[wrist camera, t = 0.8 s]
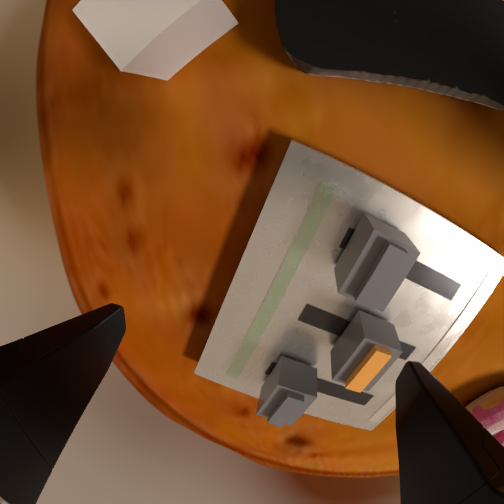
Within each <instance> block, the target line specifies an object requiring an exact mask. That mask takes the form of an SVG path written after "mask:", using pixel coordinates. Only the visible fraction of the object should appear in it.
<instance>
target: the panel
mask: <svg viewBox="0 0 504 504" xmlns="http://www.w3.org/2000/svg"><path fill="white" fill-rule="evenodd" d="M364 213H367V214H369V215H371V216H373V217H375V218H377V219H379V220H380V221H382V222H384V223H386V224H388V225H390V226H392V227H394V228H396V229H398V230H400V231H402V232H404V233H405V234H406V235H407V236H408V237H409V239H410V240H411V241H412V243H413V244H414V245H415V246H416V248H417V249H418V250H419V252H420V255H419V256H418V258H417V260H416V261H415V263H414V265H413V266H412V268H411V270H410V271H409V273H408V275H407V276H406V278H405V279H404V281H403V282H402V284H401V286H400V287H399V289H398V290H397V292H396V293H395V295H394V296H393V298H392V299H391V301H390V302H389V304H388V305H387V307H386V308H385V310H384V311H383V312H381V311H379V310H377V309H374V310H373V309H370V308H368V307H366V306H363V305H361V304H358V303H356V302H355V300H353V299H350V298H348V297H346V296H343V295H341V294H339V293H338V291H337V284H336V278H335V272H334V268H335V266H336V264H337V262H338V260H339V259H340V257H341V255H342V253H343V251H344V249H345V248H346V246H347V244H348V242H349V240H350V238H351V236H352V235H353V233H354V231H355V229H356V227H357V225H358V223H359V221H360V219H361V217H362V215H363V214H364ZM503 273H504V257H503V256H502V255H501V254H500V253H498V252H497V251H495V250H494V249H493V248H491V247H490V246H488V245H487V244H485V243H484V242H482V241H481V240H479V239H478V238H477V237H475V236H474V235H472V234H470V233H469V232H467V231H466V230H464V229H463V228H461V227H460V226H458V225H457V224H455V223H453V222H452V221H450V220H449V219H447V218H445V217H444V216H442V215H440V214H439V213H437V212H436V211H434V210H432V209H430V208H429V207H427V206H425V205H424V204H422V203H420V202H419V201H417V200H415V199H413V198H412V197H410V196H408V195H406V194H404V193H403V192H401V191H399V190H397V189H395V188H393V187H392V186H390V185H388V184H386V183H384V182H382V181H380V180H378V179H377V178H375V177H373V176H371V175H369V174H367V173H365V172H363V171H361V170H359V169H357V168H355V167H353V166H351V165H349V164H347V163H345V162H343V161H340V160H338V159H336V158H334V157H332V156H330V155H328V154H325V153H323V152H321V151H319V150H317V149H314V148H312V147H310V146H308V145H305V144H303V143H301V142H298V141H296V140H294V139H292V141H291V143H290V145H289V148H288V150H287V152H286V155H285V157H284V159H283V162H282V164H281V166H280V169H279V171H278V173H277V176H276V178H275V180H274V183H273V185H272V188H271V190H270V192H269V195H268V197H267V199H266V202H265V204H264V207H263V209H262V211H261V214H260V216H259V218H258V221H257V223H256V225H255V228H254V230H253V233H252V235H251V237H250V240H249V242H248V245H247V247H246V249H245V252H244V254H243V256H242V259H241V261H240V264H239V266H238V268H237V271H236V273H235V276H234V278H233V280H232V283H231V285H230V288H229V290H228V292H227V295H226V297H225V300H224V302H223V304H222V307H221V309H220V312H219V314H218V316H217V319H216V321H215V324H214V326H213V328H212V331H211V333H210V336H209V338H208V341H207V343H206V345H205V348H204V350H203V353H202V355H201V358H200V360H199V362H198V365H197V367H196V370H195V372H194V374H197V375H199V376H201V377H204V378H206V379H209V380H211V381H214V382H216V383H219V384H221V385H224V386H226V387H229V388H231V389H234V390H237V391H239V392H242V393H245V394H248V395H250V396H253V397H256V398H259V397H260V391H261V387H262V385H263V384H264V382H265V381H266V379H267V378H268V376H269V375H270V373H271V372H272V370H273V369H274V367H275V365H276V364H277V362H278V361H279V359H280V358H281V356H284V357H286V358H289V359H292V360H295V361H297V362H300V363H303V364H306V365H309V366H311V367H314V368H317V398H316V399H315V400H314V402H313V403H312V404H311V405H310V406H309V407H308V408H307V410H306V411H305V412H304V413H305V414H308V415H312V416H315V417H319V418H322V419H326V420H330V421H333V422H337V423H341V424H345V425H349V426H353V427H357V428H362V429H366V430H370V431H371V430H373V429H374V428H375V427H376V426H377V425H378V424H379V423H380V422H381V421H383V420H384V419H385V418H386V417H387V416H388V415H389V414H390V413H391V412H392V411H393V410H394V409H395V408H396V398H395V384H396V380H397V377H398V376H399V374H400V372H401V370H402V369H403V367H404V365H405V363H406V362H407V361H418V362H420V363H421V364H422V365H423V366H424V367H425V368H426V369H427V370H428V371H429V372H431V371H432V369H433V368H434V367H435V366H436V365H437V364H438V363H439V361H440V360H441V359H442V358H443V357H444V356H445V354H446V353H447V352H448V351H449V349H450V348H451V347H452V346H453V345H454V343H455V342H456V341H457V340H458V338H459V337H460V336H461V334H462V333H463V332H464V330H465V329H466V328H467V327H468V325H469V324H470V322H471V321H472V320H473V318H474V317H475V316H476V314H477V313H478V311H479V310H480V309H481V307H482V306H483V304H484V303H485V301H486V300H487V298H488V297H489V295H490V294H491V292H492V291H493V289H494V288H495V286H496V285H497V283H498V281H499V280H500V278H501V277H502V275H503ZM358 310H360V311H363V312H365V313H367V314H370V315H372V316H375V317H377V318H380V319H382V320H385V321H387V322H389V323H392V324H394V327H395V329H396V332H397V335H398V338H399V341H400V344H401V347H402V350H403V352H402V354H401V355H400V356H399V357H398V358H397V360H396V361H395V362H394V363H393V364H392V366H391V367H390V368H389V369H388V370H387V371H386V373H385V374H384V375H383V376H382V377H381V378H380V379H379V380H378V382H377V383H376V384H375V385H374V386H373V387H372V388H371V389H370V390H369V391H365V390H363V391H362V392H361V393H359V392H356V391H352V390H349V389H346V388H345V384H342V383H339V382H336V381H333V380H332V375H331V355H330V351H331V349H332V348H333V347H334V345H335V344H336V342H337V341H338V340H339V338H340V337H341V335H342V334H343V332H344V331H345V330H346V328H347V327H348V325H349V324H350V322H351V321H352V319H353V318H354V316H355V315H356V313H357V312H358Z"/></svg>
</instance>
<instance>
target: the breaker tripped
mask: <svg viewBox="0 0 504 504" xmlns="http://www.w3.org/2000/svg"><path fill="white" fill-rule="evenodd" d="M402 352H403V350H402V347H401V344H400V341H399V338H398V335H397V332H396V329H395V327H394V324H392V323H389V322H387V321H385V320H382V319H380V318H377V317H375V316H372V315H370V314H367V313H365V312H363V311H360V310H358V312H357V313H356V315H355V316H354V318H353V319H352V321H351V322H350V324H349V325H348V327H347V328H346V330H345V331H344V332H343V334H342V335H341V337H340V338H339V340H338V341H337V342H336V344H335V345H334V347H333V348H332V349H331V351H330V355H331V375H332V380H333V381H336V382H339V383H342V384H345V388H346V389H349V390H352V391H356V392H359V393H361V392H362V391H363V390H365V391H369V390H370V389H371V388H372V387H373V386H374V385H375V384H376V383H377V382H378V380H379V379H380V378H381V377H382V376H383V375H384V374H385V373H386V371H387V370H388V369H389V368H390V367H391V366H392V364H393V363H394V362H395V361H396V360H397V358H398V357H399V356H400V355H401V354H402Z"/></svg>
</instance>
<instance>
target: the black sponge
mask: <svg viewBox="0 0 504 504" xmlns="http://www.w3.org/2000/svg"><path fill="white" fill-rule="evenodd" d="M275 15H276V22H277V27H278V31H279V35H280V38H281V42H282V45H283V46H284V48H285V52H286V54H287V55H288V57H289V58H290V59H291V61H292V62H293V63H294V64H295V66H296V67H297V68H298V69H299V70H301V71H302V72H304V73H306V74H309V75H315V76H329V77H340V78H347V79H357V80H366V81H369V82H380V83H387V84H393V85H400V86H405V87H413V88H415V89H422V90H426V91H429V92H433V93H438V94H443V95H446V96H451V97H455V98H459V99H462V100H465V101H471V102H474V103H478V104H481V105H484V106H487V107H491V108H494V109H498V110H502V111H504V1H502V0H275Z"/></svg>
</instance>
